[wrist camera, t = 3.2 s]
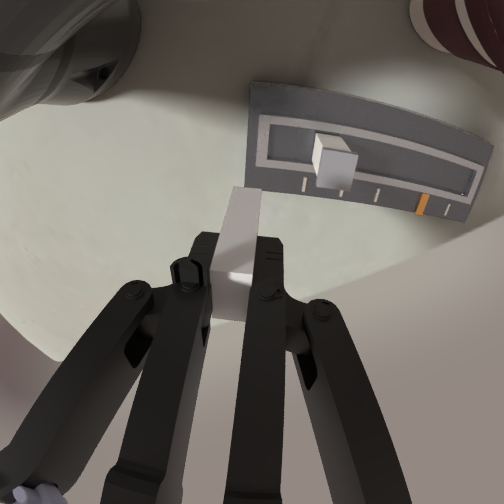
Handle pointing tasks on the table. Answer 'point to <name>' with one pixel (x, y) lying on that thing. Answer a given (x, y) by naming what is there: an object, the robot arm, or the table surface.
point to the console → (363, 150)
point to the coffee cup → (463, 28)
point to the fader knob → (333, 162)
